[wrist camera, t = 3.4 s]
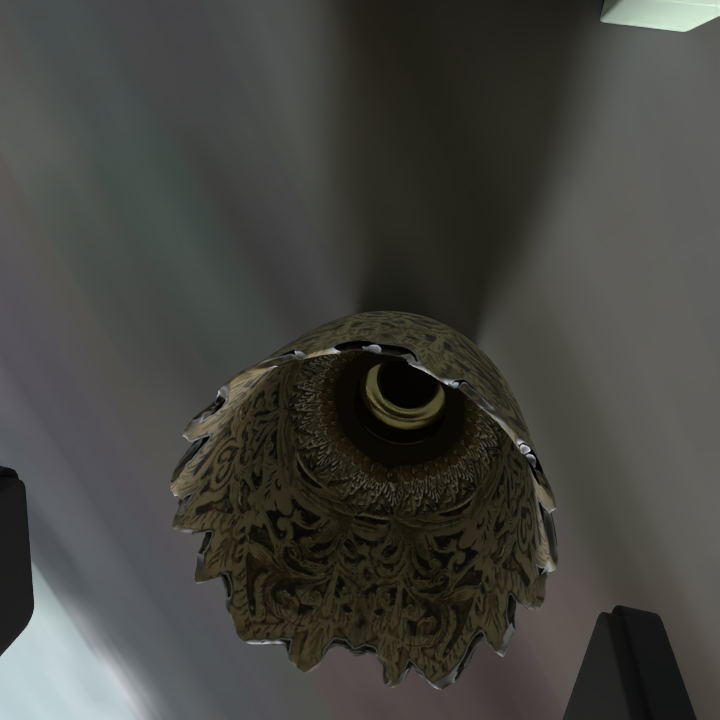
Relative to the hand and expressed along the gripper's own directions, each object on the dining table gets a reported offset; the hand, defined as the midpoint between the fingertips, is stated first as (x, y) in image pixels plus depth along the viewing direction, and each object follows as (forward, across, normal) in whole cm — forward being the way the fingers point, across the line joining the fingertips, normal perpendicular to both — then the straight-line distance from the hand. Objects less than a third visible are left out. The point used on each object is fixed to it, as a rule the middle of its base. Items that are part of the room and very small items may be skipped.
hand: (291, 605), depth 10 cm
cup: (+10, -1, 0) cm, 10 cm away
